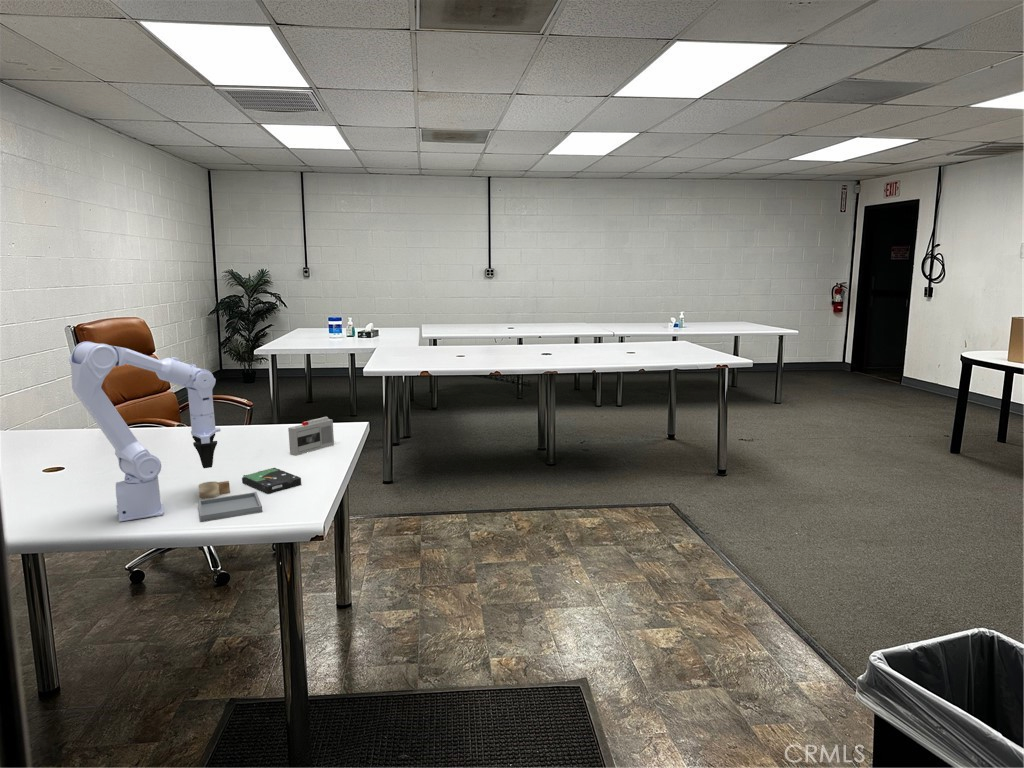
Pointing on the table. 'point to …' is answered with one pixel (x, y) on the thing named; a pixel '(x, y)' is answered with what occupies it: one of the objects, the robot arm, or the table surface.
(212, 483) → the tabbed cylinder
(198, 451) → the robot arm
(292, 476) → the disk drive
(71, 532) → the table surface
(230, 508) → the tray
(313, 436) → the cassette player
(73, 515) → the table surface
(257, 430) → the table surface
